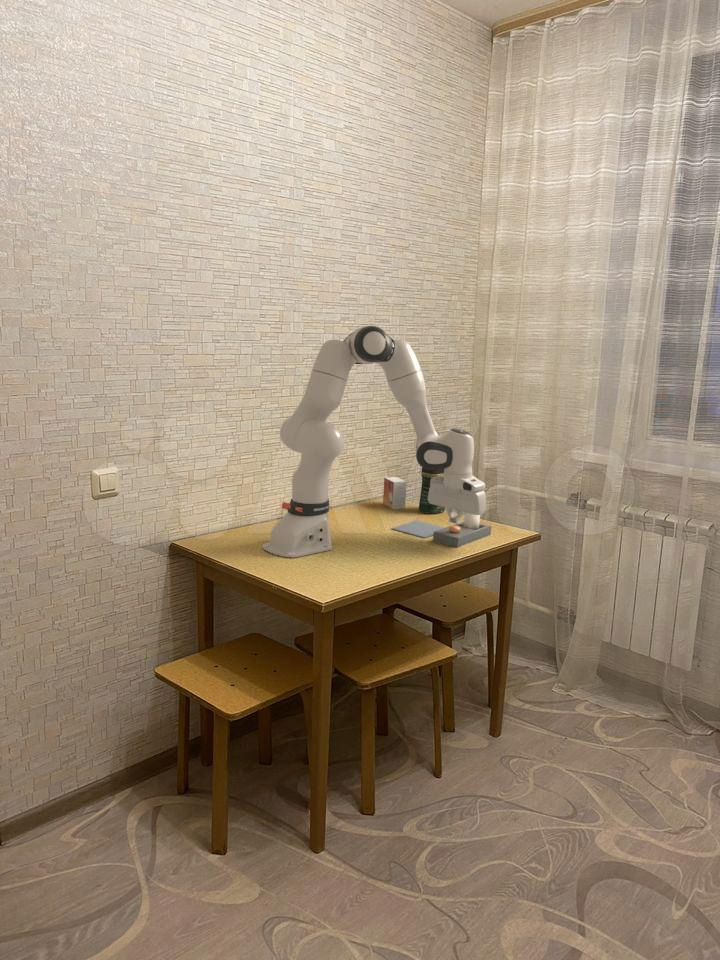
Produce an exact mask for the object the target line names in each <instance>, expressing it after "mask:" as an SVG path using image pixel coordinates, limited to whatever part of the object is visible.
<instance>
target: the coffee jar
mask: <svg viewBox="0 0 720 960" xmlns="http://www.w3.org/2000/svg"><path fill="white" fill-rule="evenodd" d="M420 473H421V489H420V497H419V504H418V510H419V511H420V512H422V513H423V514H430V515H432V514H433V515H434V513H435V514H439V513H442V512H441V511H443V512H444V511H446V508H445V507H441V506H437V505H433V504H430V503H429V502H428V493H429V488H430V480H431V478H433V477H434V476H438V477H443V478H444V468H443V469H434V470H428V469H425V468H423V467H422V466H421V472H420ZM433 479H434V478H433Z"/></svg>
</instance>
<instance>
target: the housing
mask: <svg viewBox="0 0 720 960" xmlns="http://www.w3.org/2000/svg"><path fill="white" fill-rule="evenodd" d="M453 525H454V526H460V527H461V529H460V532H459V533H452V532H449V526H447V527H445V528H443V529H440V530H437V531H435V532H434V535H433V536H432V538H433V539H432V541H433V542H437V543H440V544H444V545H448V546H450V547H454V548H459V547H462V545H463V546H465V545H467V543H468V544H471V543H472V542H473V543H474V542H475V540H476V541H478V540H480V539H483V538H486V537H488V536H491V535H492V525H489V524H484V523H479V529H477V530H472V529H468V528H464V521H461V522H460V523H459V524H456V523H454V524H452V525H451V526H453Z"/></svg>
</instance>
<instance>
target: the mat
mask: <svg viewBox="0 0 720 960" xmlns="http://www.w3.org/2000/svg"><path fill="white" fill-rule="evenodd" d="M443 528H446V527H444V526H440V525H437V524H432V523H429V522H426V521H420V520H418V519H416V520H413V521H409V522H407V523H404V524H400V525H397V526H394V527H391V528H390V530H391V531H397V532H401V533H403V534H408V535H411V536H415V537H419V538H421V539H428V538H431V537H433V535H434V532H435V531H437V530H440V529H443Z"/></svg>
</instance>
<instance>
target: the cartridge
mask: <svg viewBox="0 0 720 960" xmlns="http://www.w3.org/2000/svg"><path fill="white" fill-rule="evenodd" d="M480 521H481V515H474V514H470V513H466V512H464V520H463V522H464V528H468V529H472V530H477V529H479V523H480Z"/></svg>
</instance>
